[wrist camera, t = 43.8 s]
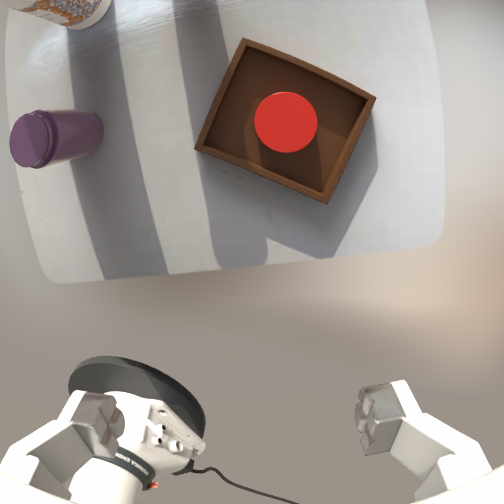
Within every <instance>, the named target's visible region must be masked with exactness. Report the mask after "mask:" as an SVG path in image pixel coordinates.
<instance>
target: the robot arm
mask: <svg viewBox="0 0 504 504" xmlns="http://www.w3.org/2000/svg"><path fill="white" fill-rule="evenodd" d="M358 397H359V400H360V402H359V403H358V404H357V405H356V409H355V420H356V426H357V430H358V431H359V432H360V433H362V438H361V444H362V447H363V451H364V454H365V456H368V455H374V454H378V453H384V452H389V451H390V454H391V455H393V456H394V457H395V458H396V459H397V460H399V461H400V462H401V463H402V464H403V465H404V466H405V467H407V468H408V469H409V470H410V471H411V472H413V473H414V474H415V475H416V476H417V477H418V478H420V479H421V480H422V481H423V483H422V484H421V486H420V487H419V488H418V490H417V491H416V492H415V494H414V495H413V497H414V501H415V502H414V503H411V504H504V465H502V466H500V467H498V468H496V469H494V470H492V469H491V467H490V465H489V463H488V461H487V459H486V457H485V455H484V453H483V451H482V449H481V448H480V446H479V444H478V442H476V441H474V440H473V439H471V438H469V437H467V436H466V435H464V434H462V433H460V432H458V431H457V430H454V429H453V428H451V427H450V426H448V425H446V424H444V423H443V422H441V421H439V420H438V419H436V418H434V417H432V416H431V415H429V414H427V413H424V414H422V412H421V410H420V408H419V406H418V404H417V402H416V400H415V398H414V397H413V394H412V392H411V390H410V389H409V387H408V385H407V383H406V381H405V380H400V381H395V382H390V383H385V384H379V385H374V386H369V387H363V388H361V389H360V390H359V394H358ZM205 447H206V443H205V442H204V441H203V440H202V439H201V438H200V437H199V436H198V435H197V434H196V433H194V432H193V431H192V430H191V429H190V428H189V427H188V426H187V425H186V424H185V423H184V422H183V421H182V420H181V419H180V418H179V417H178V416H177V415H176V414H175V413H174V412H173V411H172V410H171V409H170V408H169V406H168V405H167V404H166V403H165V402H163V401H161V400H155V399H146V398H142V397H139V396H136V395H133V394H130V393H126V392H119V391H112V392H107V393H104V394H100V393H94V392H87V391H80V390H76V391H74V392H73V393H72V395H71V397H70V398H69V400H68V402H67V404H66V405H65V407H64V409H63V410H62V413H61V414H60V416H59V418H58V420H53V421H51V422H50V423H48V424H46V425H45V426H43V427H42V428H40V429H38V430H37V431H35V432H33V433H32V434H30V435H28V436H27V437H25V438H23V439H22V440H20V441H19V442H17V443H15V444H14V445H12V446H11V447H10V448H9V450H8V452H7V454H6V455H5V457H4V459H3V461H2V462H1V464H0V504H139V500H140V496H141V491H145V490H149V489H150V488H156V487H157V486H155V485H157V484H158V482H154V483H151V482H152V480H153V479H154V477H158V476H162V475H166V474H173V475H175V476H177V475H180V474H184V473H188V472H193V473H205V472H207V471H209V470H213V471H215V472H216V473H217V474H218V475H219V476H220V477H221V478H222V479H223V480H224V481H226V482H227V483H229V484H231V485H233V486H236V487H238V488H241V489H244V490H248V491H251V492H254V493H257V494H260V495H264V496H267V497H271V498H274V499H278V500H281V501H284V502H288V503H291V504H298V503H295V502H292V501H289V500H286V499H283V498H279V497H276V496H273V495H269V494H266V493H262V492H259V491H256V490H253V489H249V488H246V487H244V486H241V485H238V484H235V483H233V482H231V481H229V480H228V479H226V478H225V477H224V476H223V475H222V473H221V472H220V471H219V470H217V469H216V468H212V467H208V468H206V469H204V470H194V469H193V466H194V460H192V459H191V458H192V457H195V456H197V455H199V454H200V453H202V452H203V451H204V449H205ZM74 474H75V475H74ZM73 475H74V477H73V480H72V482H71V484H70V487H69V489H67V488H66V487H65V486H64V485H63V483H65V482H66V481H67V480H68V479H69V478H70V477H72V476H73Z"/></svg>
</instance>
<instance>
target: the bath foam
mask: <svg viewBox="0 0 504 504" xmlns="http://www.w3.org/2000/svg"><path fill="white" fill-rule="evenodd" d="M1 1H2V2H3V3H4V4H6V5H7V6H9V7H11V8H13V9H15V10H19V11H22V12H25V13H28V14H31V15H34V16H37V17H40V18H43V19H46V20H49V21H51V22H54V23H57V24H60V25H62V26H65V27H68V28H71V29H75V30H80V29H85V28H87V27H90V26H92V25H93V24H95V23H96V22H97V21H99V20H100V19H101V18H102V17H103V16H104V14H105V13H106V11H107V10H108V8H109V6H110V4H111V0H1Z"/></svg>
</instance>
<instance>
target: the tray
mask: <svg viewBox="0 0 504 504" xmlns="http://www.w3.org/2000/svg"><path fill="white" fill-rule="evenodd" d="M280 92H291V93H295V94H298V95H300V96H302V97H303V98H305V99H306V100H307V101H308V102H309V103H310V104H311V105H312V107H313V108H314V110H315V113H316V116H317V130H316V133H315V136H314V138H313V139H312V141H311V142H310V143H309V144H308V145H307V146H306V147H304V148H303V149H301V150H298V151H297V152H296V151H295V152H290V153H283V152H278V151H275V150H272V149H271V148H269V147H267V146H266V145H265V144H264V143H262V141H261V140H260V138H259V137H258V135H257V133H256V129H255V124H254V120H255V114H256V111H257V110H256V109H258V107H259V105H260V104H261V103H262V102H263V100H264V99H266V98H267V97H269V96H271V95H273V94H274V93H280ZM375 100H376V97H375V96H373V95H370V94H369V93H368V92H366V91H364V90H362V89H360V88H358V87H357V86H355V85H353V84H351V83H349V82H347V81H345V80H343V79H341V78H339V77H337V76H335V75H333V74H331V73H329V72H327V71H325V70H323V69H320V68H318V67H316V66H314V65H312V64H310V63H307V62H305V61H303V60H300V59H298V58H296V57H293V56H291V55H289V54H286V53H284V52H281V51H279V50H276V49H273V48H271V47H268V46H266V45H263V44H260V43H257V42H255V41H252V40H249V39H246V38H242V40H241V42H240V44H239V46H238V48H237V50H236V52H235V54H234V56H233V58H232V61H231V63H230V65H229V67H228V69H227V71H226V74H225V76H224V78H223V80H222V83H221V85H220V87H219V89H218V92H217V94H216V96H215V99H214V101H213V103H212V106H211V108H210V111H209V113H208V115H207V118H206V120H205V123H204V125H203V128H202V130H201V133H200V135H199V138H198V140H197V143H196V145H195V148H194V149H195V150H198V151H201V152H203V153H206V154H208V155H211V156H214V157H216V158H219V159H221V160H224V161H226V162H229V163H231V164H234V165H236V166H239V167H241V168H244V169H246V170H249V171H251V172H254V173H256V174H258V175H261V176H263V177H266V178H268V179H270V180H273V181H275V182H277V183H280V184H282V185H284V186H287V187H289V188H291V189H294V190H296V191H298V192H300V193H303V194H305V195H307V196H309V197H311V198H314V199H316V200H318V201H320V202H322V203H325V204H328V202H329V200H330V198H331V196H332V194H333V191H334V189H335V187H336V185H337V183H338V181H339V179H340V177H341V175H342V173H343V171H344V168H345V166H346V164H347V162H348V160H349V158H350V156H351V153H352V151H353V149H354V147H355V145H356V143H357V140H358V138H359V136H360V134H361V132H362V129H363V127H364V125H365V123H366V121H367V118H368V116H369V114H370V112H371V109H372V107H373V105H374V102H375Z"/></svg>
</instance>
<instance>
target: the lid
mask: <svg viewBox="0 0 504 504" xmlns="http://www.w3.org/2000/svg"><path fill="white" fill-rule="evenodd" d="M256 110H257V111H256V114H255V120H254V124H255V129H256V133H257V135H258V137H259V138H260V140H261V141H262V143H264V144H265V145H266V146H267V147H269V148H271V149H272V150H275V151H278V152H283V153H290V152H295V151H296V152H297V151H298V150H301V149H303V148H304V147H306V146H307V145H308V144H309V143H310V142H311V141H312V139H313V138H314V136H315V133H316V130H317V116H316V113H315V110H314V108H313V107H312V105H311V104H310V103H309V102H308V101H307V100H306V99H305V98H303V97H302V96H300V95H298V94H295V93H291V92H280V93H274V94H273V95H271V96H269V97H267V98H266V99H264V100H263V102H262V103H261V104H260V105H259V107H258V109H256Z"/></svg>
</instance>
